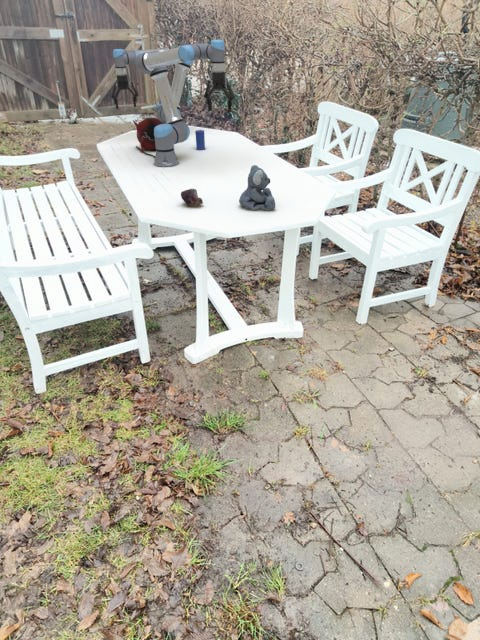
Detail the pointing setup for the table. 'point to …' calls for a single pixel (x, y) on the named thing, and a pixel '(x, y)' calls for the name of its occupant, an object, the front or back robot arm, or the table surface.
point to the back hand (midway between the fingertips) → (126, 107)
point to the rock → (191, 197)
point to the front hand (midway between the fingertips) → (219, 111)
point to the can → (200, 140)
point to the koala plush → (257, 191)
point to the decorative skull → (147, 133)
